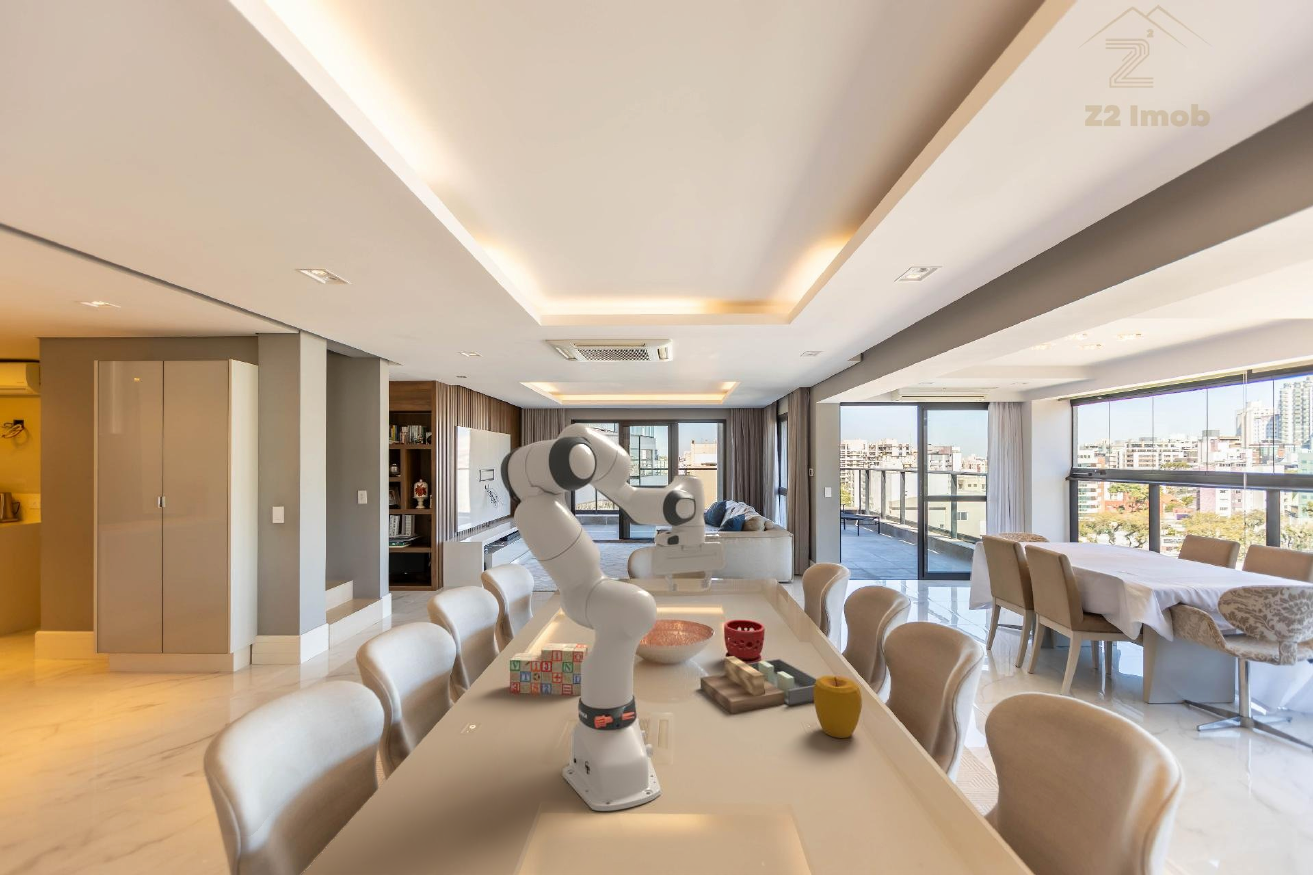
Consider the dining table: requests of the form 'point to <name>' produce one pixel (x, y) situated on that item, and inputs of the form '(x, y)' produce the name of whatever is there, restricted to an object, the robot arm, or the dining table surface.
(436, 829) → the dining table surface
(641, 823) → the dining table surface
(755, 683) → the wooden plank piece
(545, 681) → the stack of blocks
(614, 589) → the robot arm
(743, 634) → the plant pot
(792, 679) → the tile
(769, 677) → the tile
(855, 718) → the apple
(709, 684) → the board
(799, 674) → the tray
